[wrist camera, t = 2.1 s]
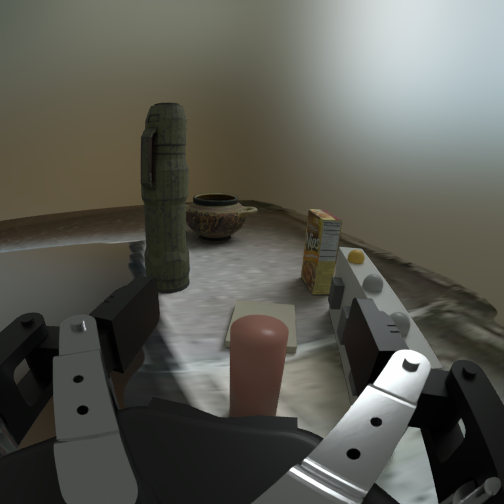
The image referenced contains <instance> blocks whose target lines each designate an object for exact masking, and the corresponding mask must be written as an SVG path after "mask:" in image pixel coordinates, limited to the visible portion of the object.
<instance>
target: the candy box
mask: <svg viewBox="0 0 504 504" xmlns="http://www.w3.org/2000/svg"><path fill="white" fill-rule="evenodd" d="M341 226H342V220H340V219H338V218H337V217H335V216H333V215H332V214H330V213H328V212H327V211H325V210H312V209H309V214H308V222H307V231H306V239H305V248H304V256H303V264H302V271H301V278H302V279H303V281H304V282H305V284H306V285H307V287H308V288H309V290H310V291H311V294H312V295H325V294H329V291H330V286H331V280H332V277H333V275H334V270H335V264H336V258H337V252H338V246H339V239H340V233H341Z"/></svg>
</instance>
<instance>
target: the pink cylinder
mask: <svg viewBox="0 0 504 504" xmlns="http://www.w3.org/2000/svg"><path fill="white" fill-rule="evenodd" d="M288 335H289V330H288V327H287V326H286V325H285V324H284V323H283V322H282V321H281V320H279V319H277V318H274V317H271V316H267V315H248V316H244V317H241V318H239V319H237V320H236V321H234V322H233V323H232V325H231V328H230V417H244V416H256V415H265V416H276V411H277V405H278V400H279V394H280V388H281V382H282V375H283V369H284V363H285V356H286V349H287V342H288Z"/></svg>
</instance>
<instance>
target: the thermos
mask: <svg viewBox="0 0 504 504" xmlns="http://www.w3.org/2000/svg"><path fill="white" fill-rule="evenodd" d="M186 122H187V119H186V116H185V112H184V108H183V107H182V106H181V105H179V104H177V103H158V104H155V105H154V106H151V108H150V110H149V113H148V115H147V118H146V122H145V130H144V132H143V134H142V137H141V190H142V199H143V202H144V210H145V231H146V250H145V254H144V256H145V267H146V275H147V277H150V278H155V279H156V281H157V288H158V292H160V293H173V292H178V291H181V290H183V289H185V288H186V287H187V286H188V285H189V271H190V267H189V251H188V248H187V246H186V199H187V197H188V166H187V163H186V160H185V145H186V124H187V123H186Z"/></svg>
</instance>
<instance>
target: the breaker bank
mask: <svg viewBox="0 0 504 504" xmlns="http://www.w3.org/2000/svg"><path fill="white" fill-rule="evenodd" d="M354 298H372V299H373V300H374V302H375V304H376V306H377V308H378V310H379V311H384V312H385V313H386V314H388V315H389V316H390V317H391V318H392V319H393V321H394V323H395V324H396V327H397V328H398V330H399V333H401V335H402V337H403V339H404V340H405V342H406V344H407V346H408V348H409V350H412V351H416V352H418V353H420V354H422V355H423V356H425V357H426V358H427V359H428V361H429V362H430V365H431V368H432V369H437V370H442V368H443V367H442V366H441V364H440V362H439V361H438V359H437V357H436V356H435V354H434V352H433V351H432V349H431V347H430V346H429V344H428V343H427V341H426V340H425V338H424V336H423V335H422V333H421V332H420V330H419V329H418V327H417V326H416V324H415V323H414V321H413V320H412V318H411V317H410V315H409V314H408V312H407V311H406V309H405V308H404V306H403V305H402V303H401V302H400V300H399V299H398V297H397V296H396V295H395V293H394V292H393V290H392V289H391V288H390V286H389V285H388V283H387V282H386V281H385V279H384V278H383V276H382V275H381V274H380V272H379V271H378V270H377V268H376V267H375V266H374V264H373V263H372V262H371V260H370V259H369V258H368V256H367V255H366V254H365V252H364V251H363V250H362V249H357V248H345V247H339V253H338V259H337V266H336V272H335V277H332V280H331V286H330V291H329V297H328V301H329V305H330V306H329V313H330V317H331V321H332V325H333V329H334V333H335V337H336V341H337V345H338V349H339V353H340V357H341V361H342V366H343V370H344V374H345V379H346V383H347V388H348V393H349V397H350V402H351V406H352V405H353V404H354V403H355V401H356V400H357V399H358V396H357V392H356V388H355V384H354V380H353V376H352V372H351V368H350V364H349V360H348V357H347V353H346V349H345V345H344V334H345V329H346V325H347V321H348V317H349V312H350V308H351V304H352V301H353V299H354ZM408 427H409V426H407V427H406V429H405V431H404V433H405V432H406V430H407V429H408ZM404 433H403V435H404ZM403 435H402V436H403ZM401 438H402V437H401ZM399 441H400V440H399Z"/></svg>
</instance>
